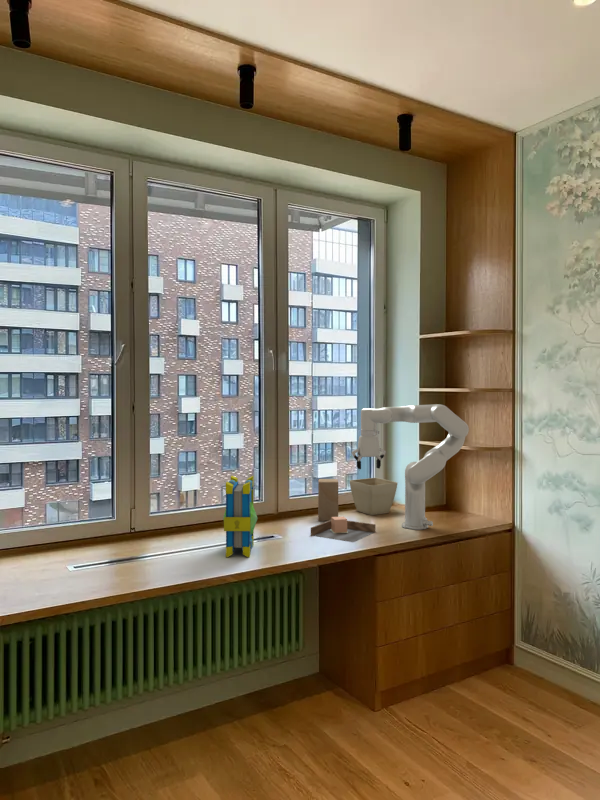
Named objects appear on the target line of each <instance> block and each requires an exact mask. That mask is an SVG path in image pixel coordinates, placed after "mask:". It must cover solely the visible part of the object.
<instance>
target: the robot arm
mask: <svg viewBox="0 0 600 800" xmlns="http://www.w3.org/2000/svg"><path fill="white" fill-rule="evenodd" d="M394 422H395V423H396V422H398V423H399V422H400V423H402V422H405V423H410V424H416V423H418V424H419V423H420V424H421V423H437V424H438V425H440V427H441V428H443V429H444V430H445V431H447V432H448V434H447V436H446V438H445V439H443V440H442V441H440V443H438V444H437V445H435V446H434V447H433V448H430V449H429V450H428V451H426V452H425V453H424V455H423V458H421V459H419V460H418V461H411V462H410V463H408V464H407V465H406V466H405V469H404V483H405V484H404V486H405V487H404V489H405V490H404V493H405V494H404V508H405V509H404V522H402V523H401V527H402V528H404V529H407V530H415V531H416V530H419V531H420V530H426V529H428V528H429V527H432V526H433V525H434V522H433V521H432V520H428V518H427V517H426V482H427V481H428V480H430V479H431V478H432V477H434V476H436V474H438V473H439V472H441V471H442V470H443V469H444V468H445V467H446V464H447V461H448V460H450V459H451V458H452V457H453V456H455V455H456V454H457V453H459V452H460V450H461V449H462V447H463V446H464V443H465V441H466V437H467V436H468V434H469V431H470V429H469V425H468V423H467V422H466V421H464V420H463V419H461V418H460V417H459V415H457V414H455V413H454V412H453V410H451V409H450V408H449V407H448V406H446V405H444V404H440V403H439V404H437V403H435V404H414V405H406V406H405V405H403V406H386V407H385V406H384V407H381V408H372V407H371V408H370V407H368V408H366V407H364V408H362V409H361V411H360V435H359V437H358V441H357V448H356V449H353V450H352V451H351V452H350V453H351V455H352V457H353V458H354V459H355V461H356V467H357V470H361V469H362V461H361V459H362V458H372V457H373V458H376V463H375V464H376V467H375V468H377V469H379V470H380V469H381V465H382V464H381V462H382V460H383V458H384V457H385V455H386V453H387V451H386V450H385V449H382V448H380V441H379V436H378V434H380V431H379V430H377V423H378V424H384V425H385V424H389V423H394ZM380 452H381V454H380ZM356 453H357V455H356Z"/></svg>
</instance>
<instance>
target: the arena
mask: <svg viewBox="0 0 600 800" xmlns="http://www.w3.org/2000/svg"><path fill="white" fill-rule="evenodd" d="M376 531H377V530H376V523H375V524H374V523H368V522H361V521H354V520H349V519H347V532H339V533H335V532H333V531H332V530H331V520H329V521H323V522H322V523H319V524H316V525H314V526H311V527H310V536H312V537H318V538H324V539H329V540H334V541H336V540H337V541H342V542H349V543H356V542H358V541H359V540H362V539H364V538H366V537H368V536H371V535H372V534H375V533H376Z"/></svg>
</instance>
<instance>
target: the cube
mask: <svg viewBox="0 0 600 800" xmlns="http://www.w3.org/2000/svg"><path fill="white" fill-rule="evenodd" d="M347 520H348V518H346V517H345V516H338V517H331V530H332V531H333V532H335V533H339V532H347Z"/></svg>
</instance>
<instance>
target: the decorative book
mask: <svg viewBox="0 0 600 800" xmlns="http://www.w3.org/2000/svg"><path fill="white" fill-rule="evenodd" d="M254 476H255V475H251V476H250V477H247V479H246V481H245V482H244V483H239V480H238V479H239V478H238V477H236V476H234V475H231V476H230V480H229V481H226V482H225V509H224V510H225V511H224V514H223V517H222V520H223V532H225V558H228V557H230V556H232V555H233V554H234V551H235V549H236V548H241V550H242V555H243V556H245V557H247V558H250V557H251V551H252V549H253V548H254V539H255V538H254V537H255V535H254V534H255V533H254V530H255V527H256V523H257V521H258V519H259V518H258V516H257V512H256V509H255V507H254V502H255V501H254V498H255V497H254V495H255V494H254Z"/></svg>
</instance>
